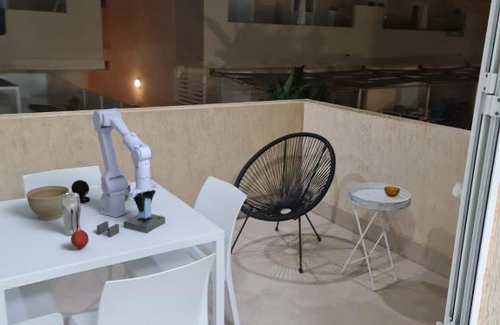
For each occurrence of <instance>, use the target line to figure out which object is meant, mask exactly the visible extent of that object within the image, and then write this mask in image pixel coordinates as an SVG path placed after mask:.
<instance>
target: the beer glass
mask: <svg viewBox="0 0 500 325" xmlns="http://www.w3.org/2000/svg"><path fill="white" fill-rule="evenodd" d="M60 197H61V212H62V216H61V217H62V218H63V222H64V233H63V234H64V235H65V236H67V237H72V235H73V233H74V232H75V231H77V229H78V228H80V229H81V223H80V221H81V211H82V209H81V208H82V207H81V204H80V197H79V194H78V193H73V192H69V193H66V194H63V195H61V196H60ZM81 230H82V229H81Z"/></svg>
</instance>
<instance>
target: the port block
mask: <svg viewBox="0 0 500 325" xmlns="http://www.w3.org/2000/svg"><path fill="white" fill-rule="evenodd" d="M165 224H166V216H164V215H158V214H153V213H151V216H150V217H148V218H142V217H139V215H138V214H136V215H135V216H133V217H130V218H128V219H125V220H124V221H123V228H124V229H127V230H132V231H135V232H139V233H144V234H148V233H150V232H151V231H153V230H155V229H157V228H160V226H163V225H165Z"/></svg>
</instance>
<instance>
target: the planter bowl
mask: <svg viewBox="0 0 500 325" xmlns="http://www.w3.org/2000/svg"><path fill="white" fill-rule="evenodd" d="M66 193H70V189H69V187H66V186H63V185H62V186H61V185H46V186H45V185H44V186H39V187H37V188H36V187H35V188H33V189H30V190H29V191H27V192H26V193H25V196H26V198H27V203H28V206H29V207H30V209H31V211H32V213H34V214H35V215H36V217H37V218H38V219H39V220H40V221H41V220H42V221H53V220H57V219H60V218H61V217H63V216H62V212H61V197H60V196H61V195H63V194H66Z"/></svg>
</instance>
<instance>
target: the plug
mask: <svg viewBox="0 0 500 325" xmlns="http://www.w3.org/2000/svg"><path fill="white" fill-rule="evenodd" d="M137 211H138V210H137ZM151 214H152V202H151V199H149V198H145V202H144V211H143V212H140V211H138V214H137V215H139V217H142V218H148V217H150V216H151Z"/></svg>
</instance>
